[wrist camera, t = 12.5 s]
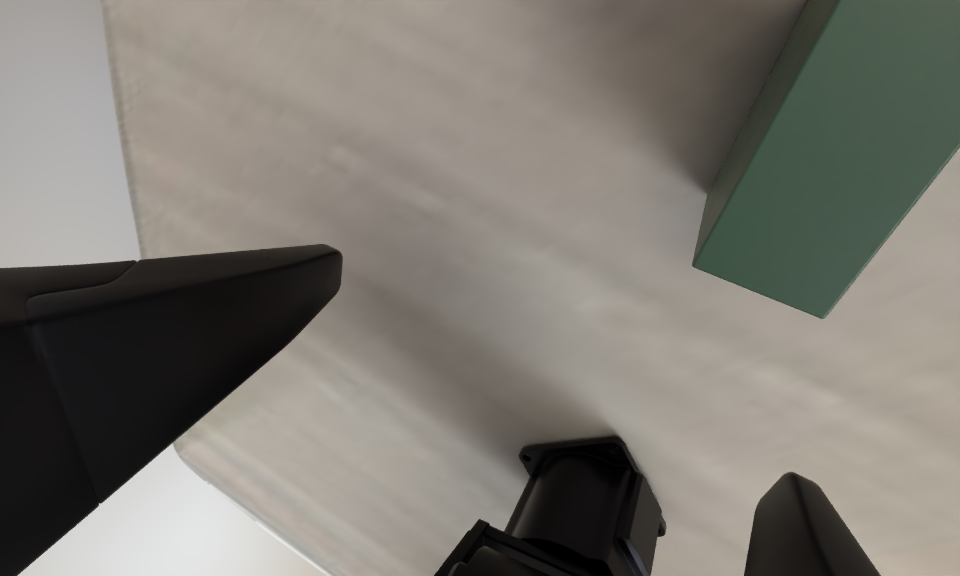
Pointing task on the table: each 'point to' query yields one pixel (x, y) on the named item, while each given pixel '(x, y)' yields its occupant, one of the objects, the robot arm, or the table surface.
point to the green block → (835, 149)
